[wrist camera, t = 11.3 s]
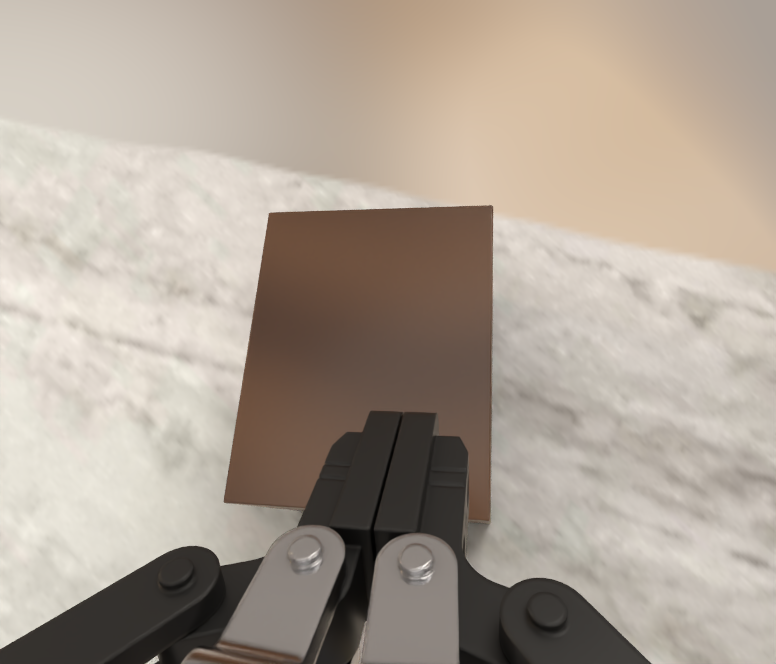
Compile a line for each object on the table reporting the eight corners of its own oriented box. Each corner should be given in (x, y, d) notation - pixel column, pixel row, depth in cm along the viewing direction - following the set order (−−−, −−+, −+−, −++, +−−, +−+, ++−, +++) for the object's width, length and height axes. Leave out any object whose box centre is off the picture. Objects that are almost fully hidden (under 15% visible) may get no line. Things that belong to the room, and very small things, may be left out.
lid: (274, 220, 28) (268, 212, 27) (493, 214, 26) (493, 204, 25) (231, 503, 23) (222, 502, 23) (489, 521, 21) (489, 521, 21)
